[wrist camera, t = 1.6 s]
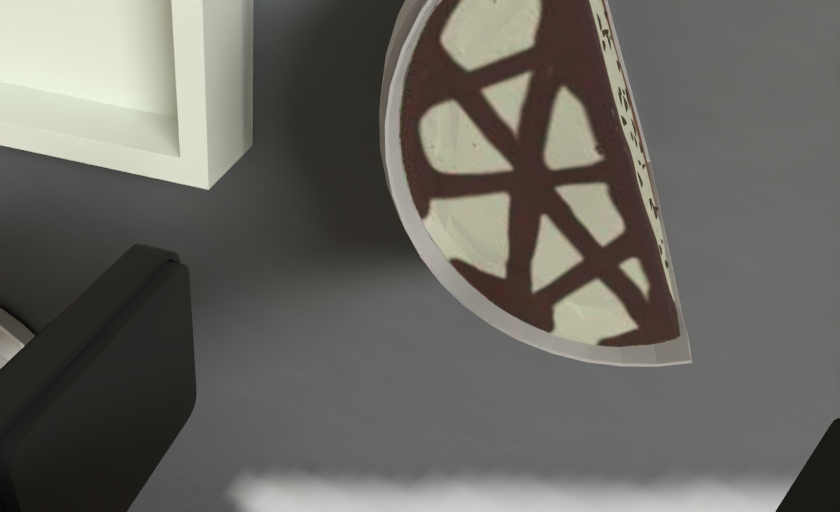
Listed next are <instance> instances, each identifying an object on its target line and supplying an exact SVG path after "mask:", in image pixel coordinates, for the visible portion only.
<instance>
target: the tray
mask: <svg viewBox="0 0 840 512" xmlns="http://www.w3.org/2000/svg"><path fill="white" fill-rule="evenodd" d="M0 145H2V146H7V147H12V148H16V149H21V150H26V151H30V152H35V153H40V154H44V155H49V156H54V157H58V158H63V159H68V160H72V161H77V162H82V163H86V164H91V165H96V166H100V167H105V168H110V169H114V170H119V171H124V172H128V173H133V174H138V175H142V176H147V177H152V178H156V179H161V180H166V181H170V182H175V183H180V184H184V185H189V186H194V187H198V188H203V189H208V190H209V189H210V188H211V187H212V186H213V185H214V184H215V183H216V182H217V181H218V180H219V179H220V178H221V177H222V176H223V175H224V174H225V173H226V172H227V171H228V170H229V169H230V168H231V167H232V166H233V165H234V164H235V163H236V162H237V161H238V160H239V159H240V158H241V157H242V156H243V155H244V154H245V153H246V152H247V151H248V150H249V149H250V148H251V147H252V146H253V0H0Z"/></svg>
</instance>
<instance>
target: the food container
mask: <svg viewBox="0 0 840 512" xmlns="http://www.w3.org/2000/svg"><path fill="white" fill-rule="evenodd" d="M379 125H380V151H381V156H382V162H383V167H384V172H385V178H386V183H387V186H388V189H389V192H390V194H391V197H392V200H393V203H394V206H395V208H396V211H397V214H398V217H399V218H400V220H401V222H402V224H403V226H404V228H405V230H406V232H407V234H408V235H409V237H410V239H411V241H412V243H413V244H414V246H415V248H416V250H417V252H418V254H419V255H420V257H421V258H422V259H423V261H424V262H425V263H426V265H427V266H428V267H429V269H430V270H431V271H432V272H433V274H434V275H435V276H436V278H437V279H438V280H439V282H440V283H441V284H442V285H443V286H444V287H445V288H446V289H447V290H448V291H449V292H450V293H452V294H453V295H454V296H455V297H456V298H457V299H458V300H459V301H460V302H461V303H462V304H463V305H464V306H465V307H467V308H468V309H469V310H471V311H472V312H473V313H475V314H476V315H478V316H479V317H480V318H482V319H483V320H484V321H486V322H487V323H489V324H490V325H491V326H493V327H495V328H497V329H499V330H501V331H502V332H504V333H506V334H508V335H510V336H512V337H514V338H515V339H517V340H519V341H521V342H524V343H526V344H529V345H531V346H534V347H537V348H539V349H542V350H544V351H547V352H550V353H552V354H556V355H560V356H564V357H568V358H572V359H576V360H580V361H584V362H590V363H598V364H607V365H615V366H667V365H676V364H686V363H692V359H691V351H690V345H689V339H688V334H687V329H686V325H684V320H683V315H682V310H681V306H680V301H679V296H678V291H677V286H676V281H675V277H674V272H673V267H672V262H671V257H670V252H669V248H668V243H667V238H666V233H665V228H664V223H663V218H662V214H661V209H660V204H659V199H658V194H657V189H656V185H655V180H654V175H653V170H652V165H651V161H650V158H649V154H648V150H647V146H646V143H645V139H644V135H643V132H642V128H641V124H640V120H639V117H638V113H637V109H636V105H635V102H634V98H633V94H632V91H631V87H630V83H629V79H628V76H627V72H626V68H625V64H624V61H623V57H622V53H621V50H620V46H619V42H618V38H617V35H616V31H615V27H614V23H613V20H612V16H611V12H610V9H609V5H608V1H607V0H405V2H404V4H403V6H402V8H401V10H400V12H399V14H398V16H397V20H396V23H395V26H394V30H393V33H392V36H391V40H390V43H389V46H388V50H387V53H386V59H385V66H384V74H383V81H382V88H381V97H380V108H379Z"/></svg>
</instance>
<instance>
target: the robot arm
mask: <svg viewBox="0 0 840 512" xmlns="http://www.w3.org/2000/svg"><path fill="white" fill-rule="evenodd" d="M195 401H196V377H195V361H194V345H193V328H192V312H191V295H190V279H189V270H188V267H187V265H185V264H181V263H180V261H179V257H178V255H177V254H176V253H175V252H172V251H168V250H164V249H159V248H155V247H151V246H147V245H142V244H136V245H134V246H133V247H131V248H130V249H129V250H128V251H127V252H126V253H125V254H124V255H123V256H121V257H120V258H119V259H118V260H117V261H116V262H115V263H114V264H113V265H112V266H111V267H110V268H109V269H108V270H107V271H106V272H105V273H104V274H103V275H102V276H100V277H99V278H98V279H97V280H96V281H95V282H94V283H93V284H92V285H91V286H90V287H89V288H88V289H87V290H86V291H85V292H84V293H83V294H82V295H81V296H79V297H78V298H77V299H76V300H75V301H74V302H73V303H72V304H71V305H70V306H69V307H68V308H67V309H66V310H65V311H64V312H63V313H62V314H61V315H60V316H58V317H57V318H56V319H54V320H53V321H52V322H50V323H49V324H48V325H46V326H45V327H44V328H43V329H42V330H41V331H40V332H39V333H38V334H37V335H36V336H35V335H34V334H33V333H32V332H31V331H30V330H29V329H28V328H27V327H25V326H24V325H23V324H22V323H21V322H19V321H18V320H17V319H15V318H14V317H13V316H11V315H10V314H9V313H7V312H6V311H4V310H3V309H1V308H0V512H127V510H128V509H129V507H130V506H131V504H132V503H133V501H134V500H135V498H136V497H137V495H138V494H139V492H140V491H141V489H142V488H143V486H144V485H145V483H146V482H147V480H148V479H149V477H150V476H151V474H152V473H153V471H154V470H155V468H156V467H157V465H158V464H159V462H160V461H161V459H162V458H163V456H164V455H165V453H166V452H167V450H168V449H169V447H170V446H171V444H172V443H173V441H174V440H175V438H176V437H177V435H178V434H179V432H180V431H181V429H182V428H183V426H184V425H185V423H186V422H187V420H188V419H189V417H190V415H191V413H192V411H193V408H194V405H195ZM776 512H840V418H838V419H836V420H834V421H833V423H832V424H831V425H830V427H829V428H828V430H827V431H826V433H825V434H824V436H823V438H822V439H821V441H820V442H819V444H818V445H817V447H816V449H815V450H814V452H813V453H812V455H811V456H810V458H809V460H808V461H807V463H806V464H805V466H804V467H803V469H802V471H801V472H800V474H799V475H798V477H797V478H796V480H795V482H794V483H793V485H792V486H791V488H790V489H789V491H788V493H787V494H786V496H785V497H784V499H783V500H782V502H781V504H780V505H779V507H778V508H777V510H776Z"/></svg>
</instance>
